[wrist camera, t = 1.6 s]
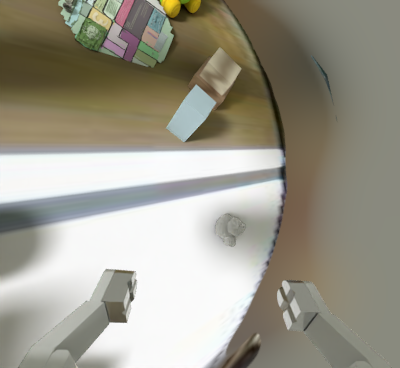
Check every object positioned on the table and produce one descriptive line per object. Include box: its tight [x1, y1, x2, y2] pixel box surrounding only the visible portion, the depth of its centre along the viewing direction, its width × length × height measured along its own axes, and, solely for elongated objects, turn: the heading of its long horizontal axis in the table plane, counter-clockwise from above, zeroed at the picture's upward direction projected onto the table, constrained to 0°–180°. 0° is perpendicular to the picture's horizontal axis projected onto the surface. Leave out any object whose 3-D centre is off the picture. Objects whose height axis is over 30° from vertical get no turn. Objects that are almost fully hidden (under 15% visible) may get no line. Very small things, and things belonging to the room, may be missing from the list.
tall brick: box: [166, 85, 216, 142], centre depth 39 cm, size 5×5×10 cm
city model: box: [58, 0, 174, 68], centre depth 40 cm, size 25×23×6 cm
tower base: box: [188, 48, 241, 110], centre depth 47 cm, size 9×9×8 cm
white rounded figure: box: [215, 214, 246, 247], centre depth 38 cm, size 5×7×8 cm
